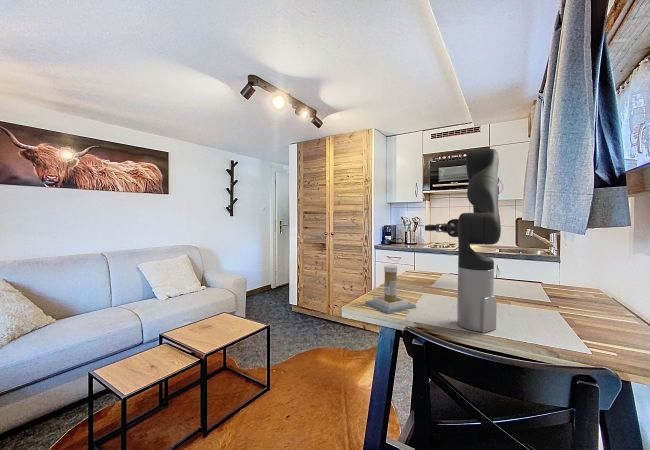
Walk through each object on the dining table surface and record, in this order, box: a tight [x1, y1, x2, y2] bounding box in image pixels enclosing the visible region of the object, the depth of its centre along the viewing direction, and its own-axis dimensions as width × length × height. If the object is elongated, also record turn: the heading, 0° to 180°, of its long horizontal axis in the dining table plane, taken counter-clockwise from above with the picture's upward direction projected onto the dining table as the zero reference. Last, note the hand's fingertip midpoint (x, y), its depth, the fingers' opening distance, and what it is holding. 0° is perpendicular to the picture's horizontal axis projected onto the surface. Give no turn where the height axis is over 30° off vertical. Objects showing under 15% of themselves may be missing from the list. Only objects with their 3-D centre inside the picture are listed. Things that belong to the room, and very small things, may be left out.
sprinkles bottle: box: [383, 264, 398, 303], centre depth 99 cm, size 5×5×13 cm
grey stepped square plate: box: [365, 295, 417, 315], centre depth 99 cm, size 12×13×2 cm
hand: (434, 228), depth 107 cm, fingers open, 8 cm apart
